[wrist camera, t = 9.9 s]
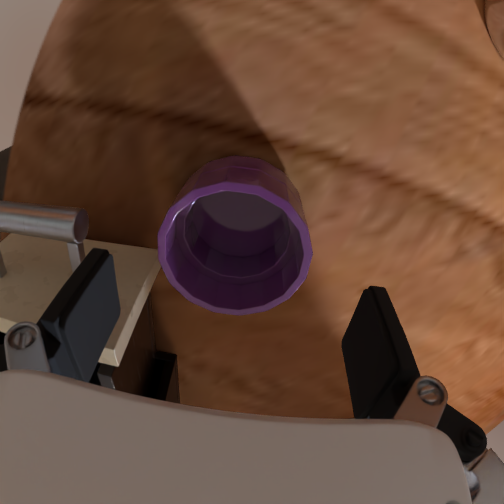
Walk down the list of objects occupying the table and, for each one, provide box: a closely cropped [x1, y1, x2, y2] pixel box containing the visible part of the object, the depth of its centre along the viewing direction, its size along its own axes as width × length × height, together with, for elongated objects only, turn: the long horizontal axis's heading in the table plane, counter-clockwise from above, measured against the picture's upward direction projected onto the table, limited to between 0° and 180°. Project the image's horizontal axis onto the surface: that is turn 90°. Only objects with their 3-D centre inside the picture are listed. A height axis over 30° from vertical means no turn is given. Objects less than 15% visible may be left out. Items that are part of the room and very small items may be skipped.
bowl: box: [157, 155, 313, 315], centre depth 16 cm, size 7×7×5 cm
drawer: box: [0, 201, 161, 399], centre depth 17 cm, size 18×11×8 cm, turn 172°
